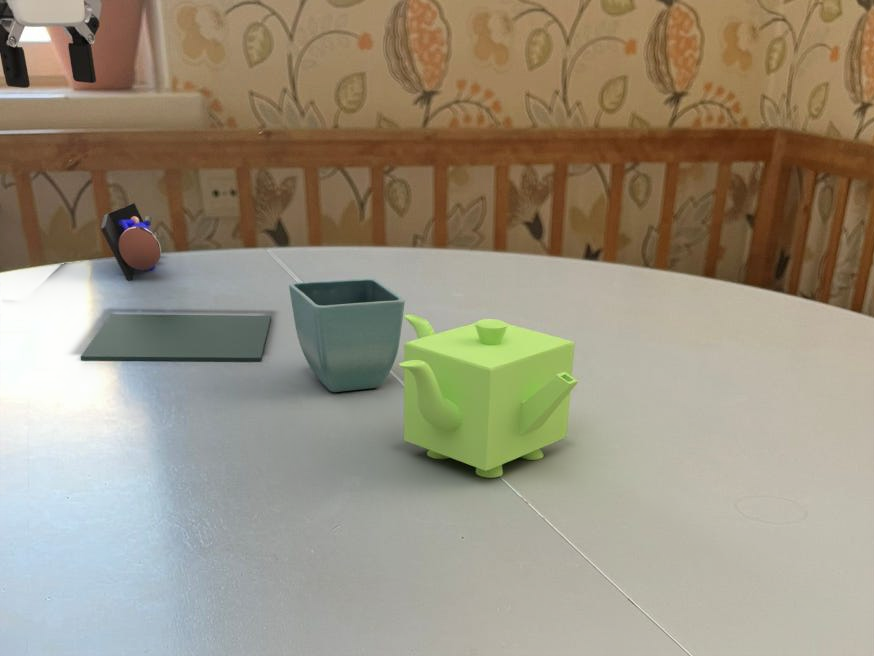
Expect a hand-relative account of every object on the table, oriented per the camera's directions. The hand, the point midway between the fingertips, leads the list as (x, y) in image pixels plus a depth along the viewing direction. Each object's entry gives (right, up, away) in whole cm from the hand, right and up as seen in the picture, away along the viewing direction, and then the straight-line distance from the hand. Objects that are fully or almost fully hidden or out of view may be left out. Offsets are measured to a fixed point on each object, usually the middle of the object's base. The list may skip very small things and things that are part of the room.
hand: (52, 84), depth 122 cm
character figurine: (+4, -16, +17) cm, 24 cm away
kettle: (+50, -49, -33) cm, 77 cm away
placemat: (+17, -32, -8) cm, 37 cm away
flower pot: (+37, -40, -19) cm, 57 cm away
